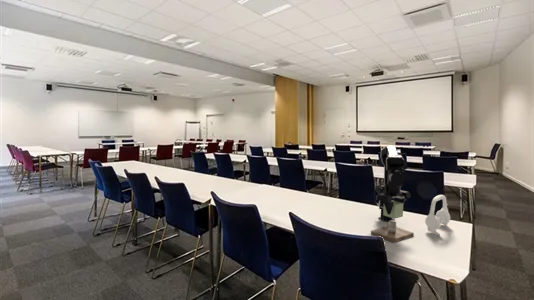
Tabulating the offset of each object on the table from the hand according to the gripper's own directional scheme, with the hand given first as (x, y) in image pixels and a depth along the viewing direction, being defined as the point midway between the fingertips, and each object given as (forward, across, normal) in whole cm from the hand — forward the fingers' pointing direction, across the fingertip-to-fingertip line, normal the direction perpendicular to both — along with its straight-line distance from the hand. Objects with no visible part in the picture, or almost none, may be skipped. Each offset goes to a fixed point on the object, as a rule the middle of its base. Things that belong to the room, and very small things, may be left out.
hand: (392, 213), depth 129 cm
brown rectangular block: (+11, 0, 0) cm, 11 cm away
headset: (+11, -28, +7) cm, 31 cm away
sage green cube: (+1, 0, 0) cm, 1 cm away
